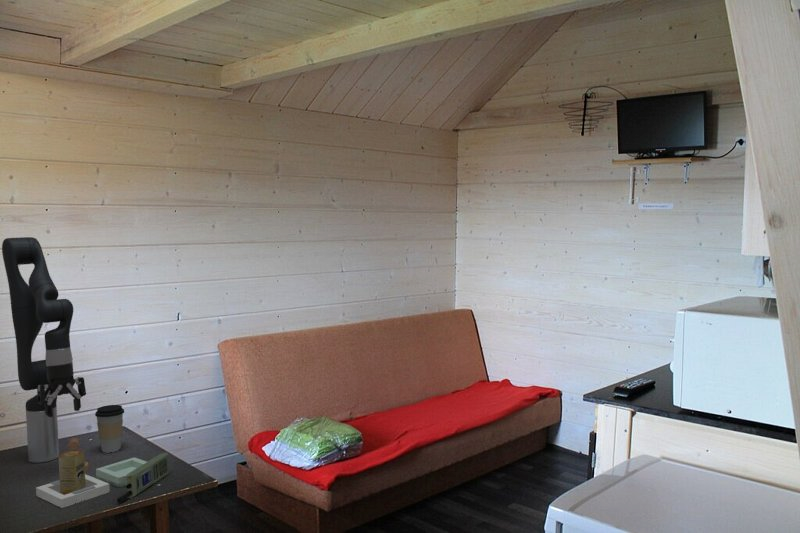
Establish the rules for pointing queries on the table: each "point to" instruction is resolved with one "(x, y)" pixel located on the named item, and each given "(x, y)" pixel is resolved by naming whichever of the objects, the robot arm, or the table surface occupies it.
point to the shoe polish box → (71, 471)
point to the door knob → (74, 446)
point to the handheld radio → (146, 475)
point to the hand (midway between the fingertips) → (63, 413)
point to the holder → (53, 496)
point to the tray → (118, 471)
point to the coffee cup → (110, 427)
